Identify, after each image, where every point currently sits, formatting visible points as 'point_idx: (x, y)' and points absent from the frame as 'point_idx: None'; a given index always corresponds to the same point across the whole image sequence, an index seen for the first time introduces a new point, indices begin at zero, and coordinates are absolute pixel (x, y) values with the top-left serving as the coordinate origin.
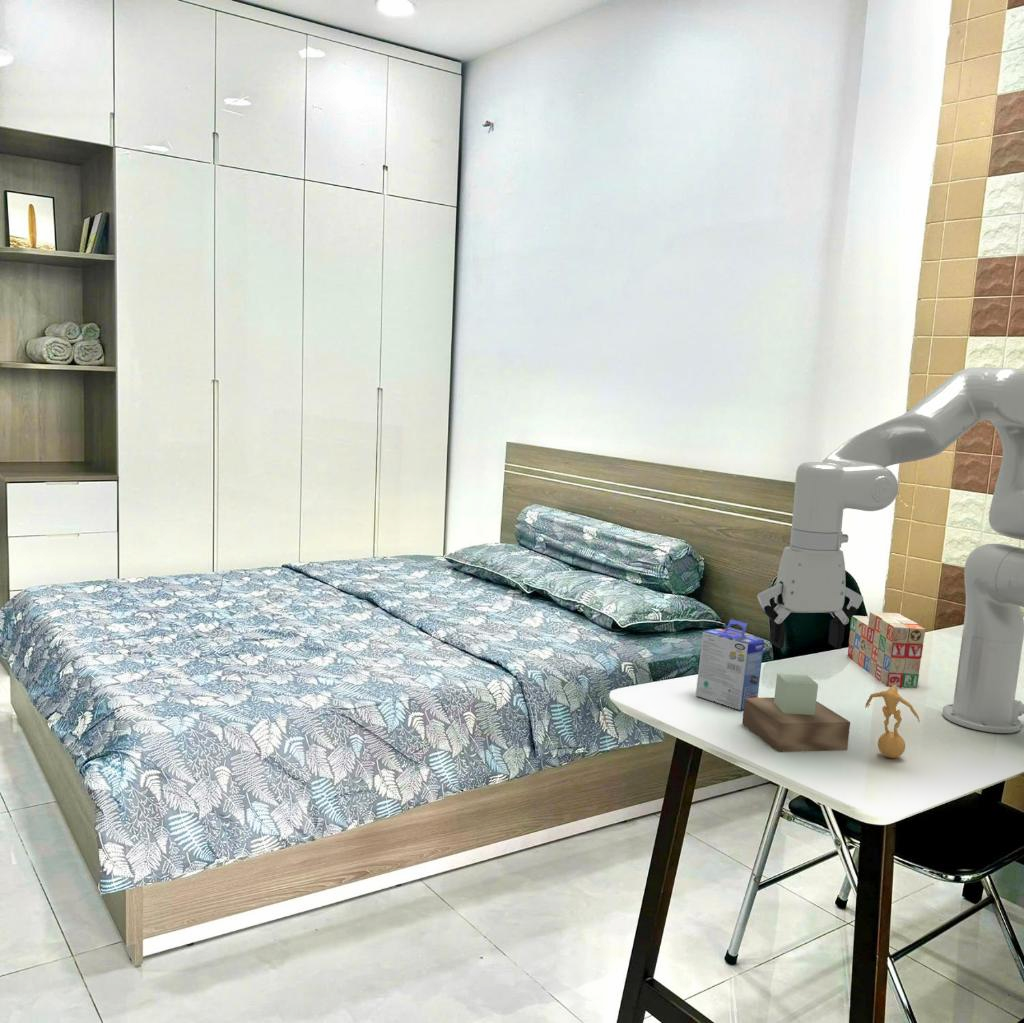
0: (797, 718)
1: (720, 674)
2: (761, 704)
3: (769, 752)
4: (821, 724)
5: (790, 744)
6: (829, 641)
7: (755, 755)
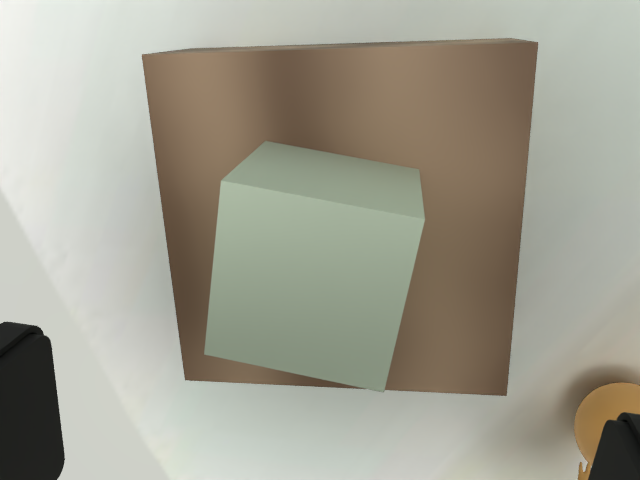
0: None
1: None
2: (191, 158)
3: None
4: None
5: None
6: (609, 448)
7: (132, 341)
